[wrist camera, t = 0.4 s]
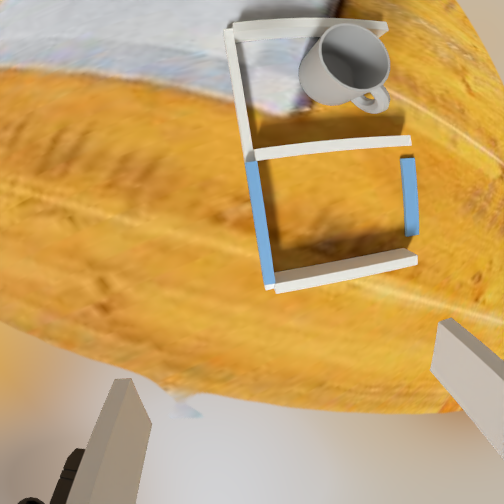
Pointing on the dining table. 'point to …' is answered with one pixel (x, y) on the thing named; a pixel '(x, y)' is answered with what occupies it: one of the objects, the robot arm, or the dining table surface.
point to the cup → (347, 68)
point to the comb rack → (336, 269)
